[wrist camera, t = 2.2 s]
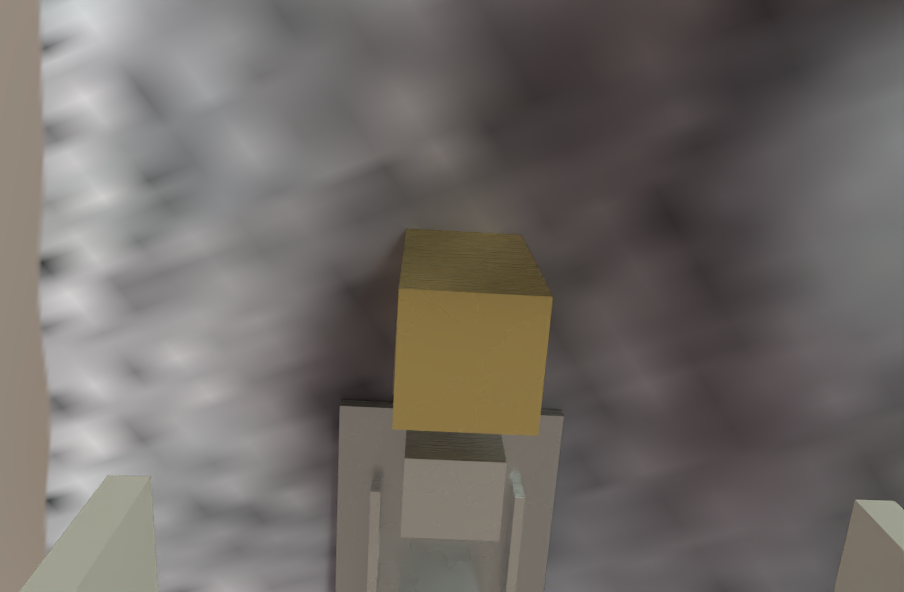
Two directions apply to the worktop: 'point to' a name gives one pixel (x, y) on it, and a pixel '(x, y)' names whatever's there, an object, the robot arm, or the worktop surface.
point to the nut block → (470, 334)
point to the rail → (442, 505)
